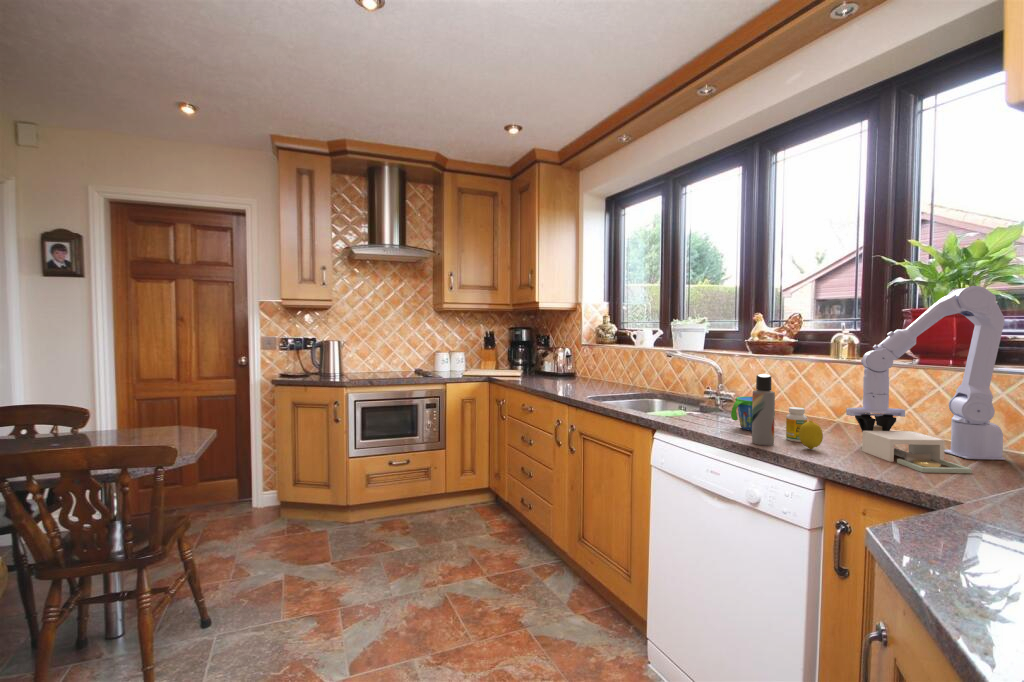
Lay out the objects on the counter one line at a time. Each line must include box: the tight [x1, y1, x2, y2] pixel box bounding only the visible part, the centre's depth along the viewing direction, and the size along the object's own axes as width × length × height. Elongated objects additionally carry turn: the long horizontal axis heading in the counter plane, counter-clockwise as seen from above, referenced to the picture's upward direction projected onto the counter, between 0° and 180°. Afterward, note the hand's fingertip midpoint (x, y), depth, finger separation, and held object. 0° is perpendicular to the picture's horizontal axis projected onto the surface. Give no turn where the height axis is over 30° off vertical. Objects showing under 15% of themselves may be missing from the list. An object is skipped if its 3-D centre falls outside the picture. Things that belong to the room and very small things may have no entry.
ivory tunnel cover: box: [861, 430, 946, 463], centre depth 123 cm, size 13×10×6 cm
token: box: [913, 459, 942, 467], centre depth 115 cm, size 5×5×1 cm
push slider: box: [873, 423, 931, 463], centre depth 126 cm, size 18×6×6 cm, turn 177°
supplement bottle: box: [785, 406, 808, 443], centre depth 141 cm, size 5×5×10 cm
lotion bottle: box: [751, 373, 776, 447], centre depth 136 cm, size 6×6×20 cm
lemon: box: [799, 420, 824, 450], centre depth 130 cm, size 6×6×8 cm
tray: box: [896, 458, 973, 474], centre depth 113 cm, size 11×8×1 cm
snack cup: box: [730, 396, 753, 432], centre depth 156 cm, size 16×10×10 cm
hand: (874, 441), depth 132 cm, fingers closed on push slider, 3 cm apart
